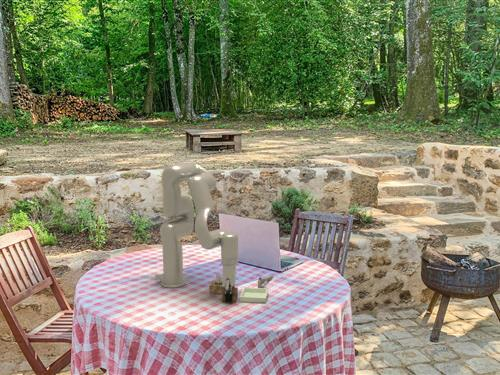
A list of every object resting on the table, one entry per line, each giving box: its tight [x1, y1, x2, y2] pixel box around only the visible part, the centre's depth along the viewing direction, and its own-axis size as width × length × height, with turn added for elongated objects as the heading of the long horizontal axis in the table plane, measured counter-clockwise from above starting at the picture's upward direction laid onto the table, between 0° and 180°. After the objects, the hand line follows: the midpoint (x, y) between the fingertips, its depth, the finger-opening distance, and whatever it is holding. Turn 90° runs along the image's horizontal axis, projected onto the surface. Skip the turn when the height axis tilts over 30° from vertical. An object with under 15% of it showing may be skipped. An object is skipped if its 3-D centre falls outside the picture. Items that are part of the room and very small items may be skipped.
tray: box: [239, 286, 269, 305], centre depth 225 cm, size 12×12×2 cm
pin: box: [215, 273, 222, 285], centre depth 233 cm, size 2×2×8 cm
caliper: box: [257, 275, 274, 288], centre depth 243 cm, size 20×1×6 cm, turn 158°
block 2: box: [221, 286, 239, 304], centre depth 222 cm, size 6×6×5 cm
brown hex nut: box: [208, 279, 226, 295], centre depth 233 cm, size 7×7×4 cm
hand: (230, 298), depth 223 cm, fingers closed on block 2, 6 cm apart
